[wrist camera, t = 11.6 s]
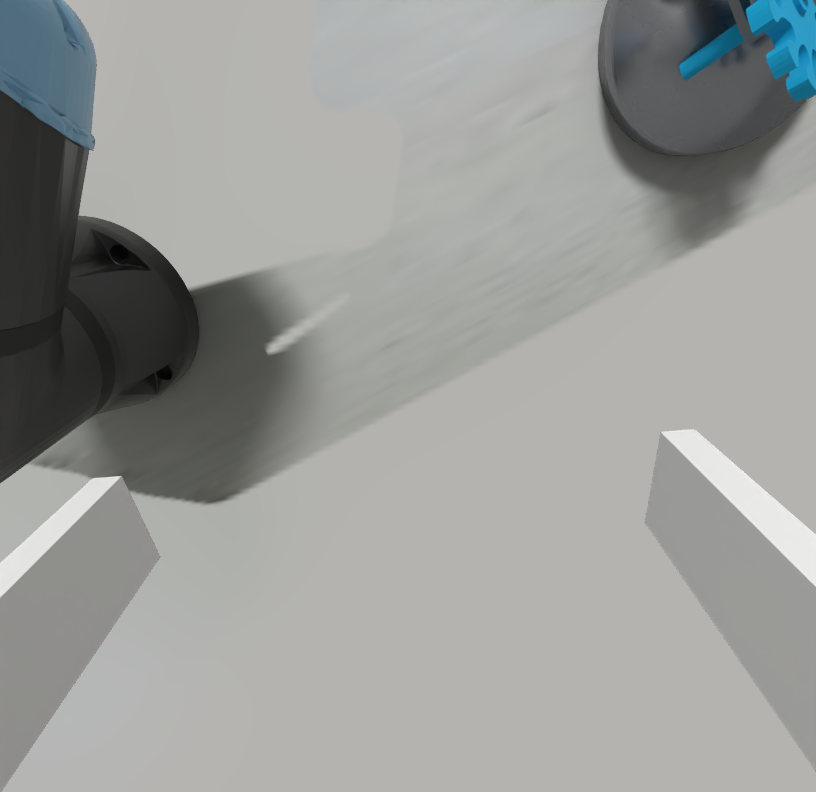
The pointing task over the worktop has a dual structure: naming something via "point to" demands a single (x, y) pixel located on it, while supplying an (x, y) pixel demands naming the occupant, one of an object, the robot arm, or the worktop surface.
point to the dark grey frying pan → (696, 97)
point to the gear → (790, 33)
